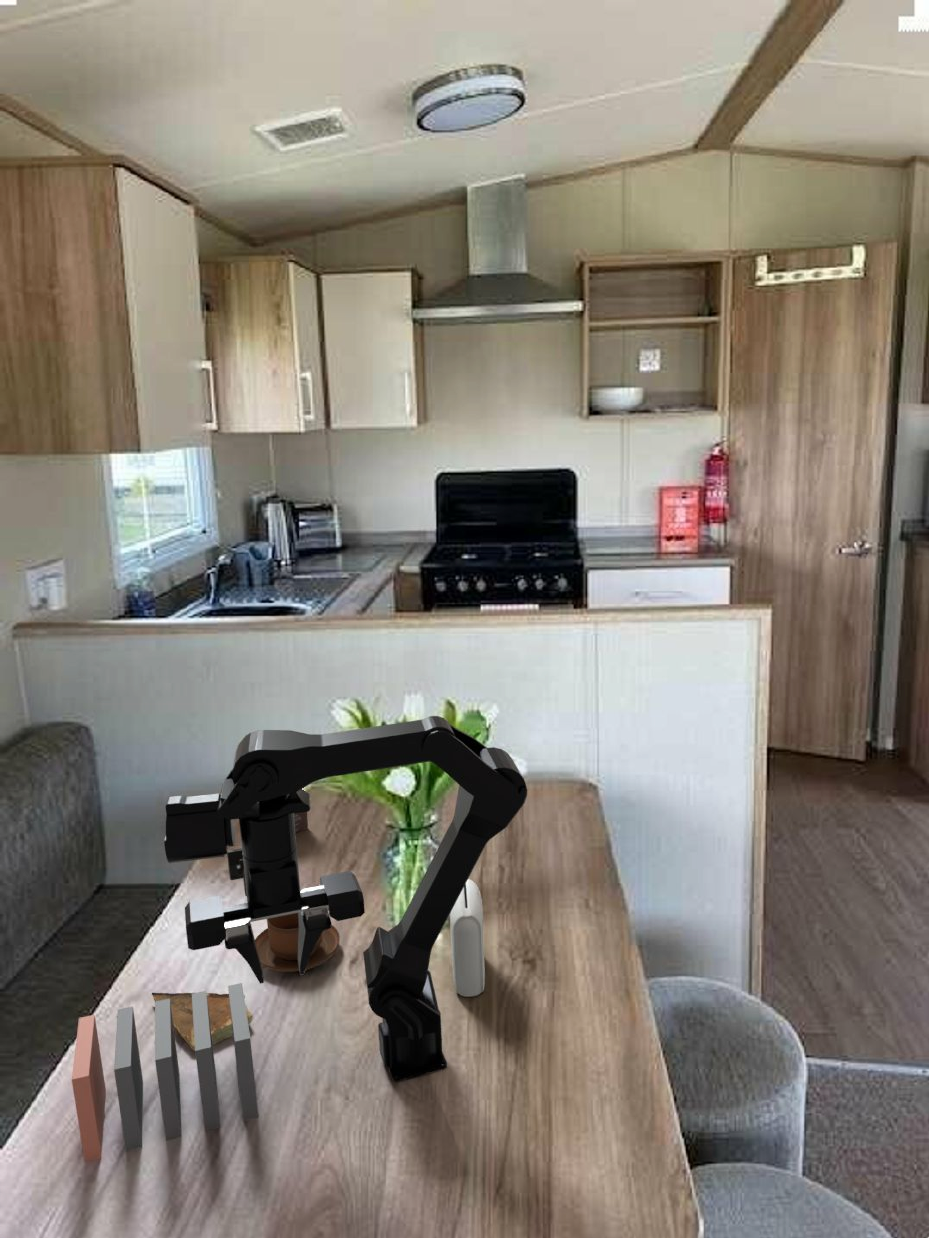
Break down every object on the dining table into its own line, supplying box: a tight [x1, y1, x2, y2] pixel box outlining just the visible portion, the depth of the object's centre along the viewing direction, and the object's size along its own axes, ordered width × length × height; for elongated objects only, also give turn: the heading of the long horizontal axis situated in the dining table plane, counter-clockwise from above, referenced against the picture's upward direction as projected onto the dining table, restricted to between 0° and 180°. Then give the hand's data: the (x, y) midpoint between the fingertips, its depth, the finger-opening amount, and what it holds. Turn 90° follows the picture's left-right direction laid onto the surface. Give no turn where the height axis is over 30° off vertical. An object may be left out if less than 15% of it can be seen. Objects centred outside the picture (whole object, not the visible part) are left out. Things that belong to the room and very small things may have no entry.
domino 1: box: [71, 1014, 107, 1163], centre depth 100 cm, size 2×10×10 cm, turn 18°
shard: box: [151, 992, 254, 1052], centre depth 118 cm, size 13×9×2 cm
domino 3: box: [154, 999, 183, 1142], centre depth 102 cm, size 2×10×10 cm, turn 18°
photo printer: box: [449, 878, 486, 998], centre depth 123 cm, size 10×4×12 cm, turn 2°
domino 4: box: [192, 990, 221, 1132], centre depth 103 cm, size 2×10×10 cm, turn 18°
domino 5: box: [227, 982, 259, 1122], centre depth 104 cm, size 2×10×10 cm, turn 18°
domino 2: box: [113, 1006, 144, 1152], centre depth 101 cm, size 2×10×10 cm, turn 18°
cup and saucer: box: [254, 913, 340, 973], centre depth 130 cm, size 12×12×6 cm
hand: (281, 976), depth 104 cm, fingers open, 4 cm apart
